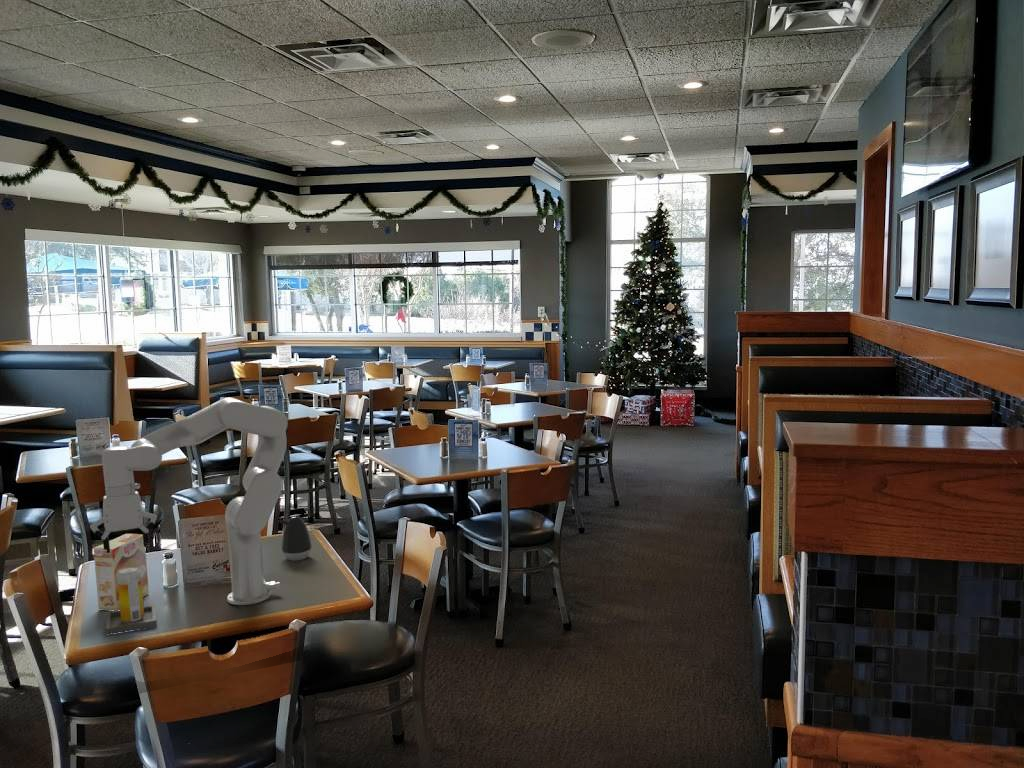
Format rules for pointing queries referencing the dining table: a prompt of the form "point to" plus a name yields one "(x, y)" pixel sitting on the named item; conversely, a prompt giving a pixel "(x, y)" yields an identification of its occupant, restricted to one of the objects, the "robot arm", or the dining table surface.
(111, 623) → the tray
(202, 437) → the robot arm
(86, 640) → the dining table surface
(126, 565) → the coffeecake box
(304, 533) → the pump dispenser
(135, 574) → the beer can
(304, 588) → the dining table surface
